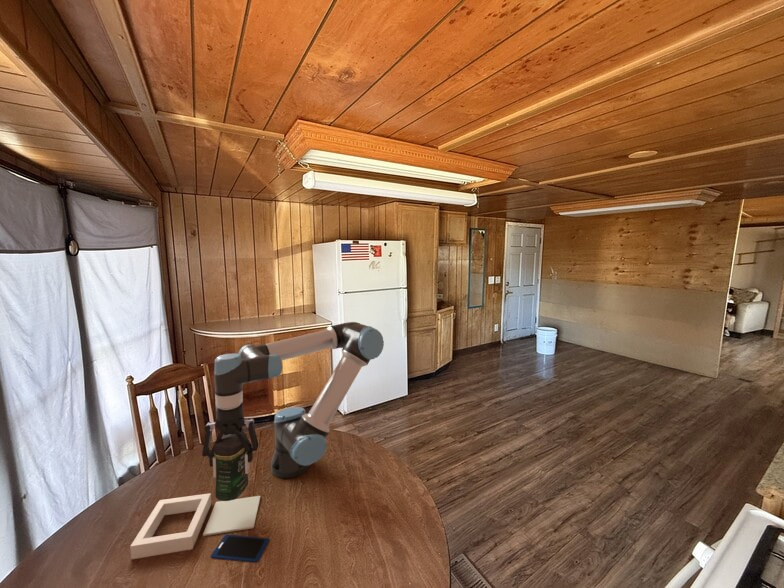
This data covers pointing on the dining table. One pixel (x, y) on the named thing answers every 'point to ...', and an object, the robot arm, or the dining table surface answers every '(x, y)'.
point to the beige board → (233, 515)
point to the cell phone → (240, 548)
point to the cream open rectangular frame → (172, 542)
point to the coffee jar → (230, 468)
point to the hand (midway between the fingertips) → (232, 472)
